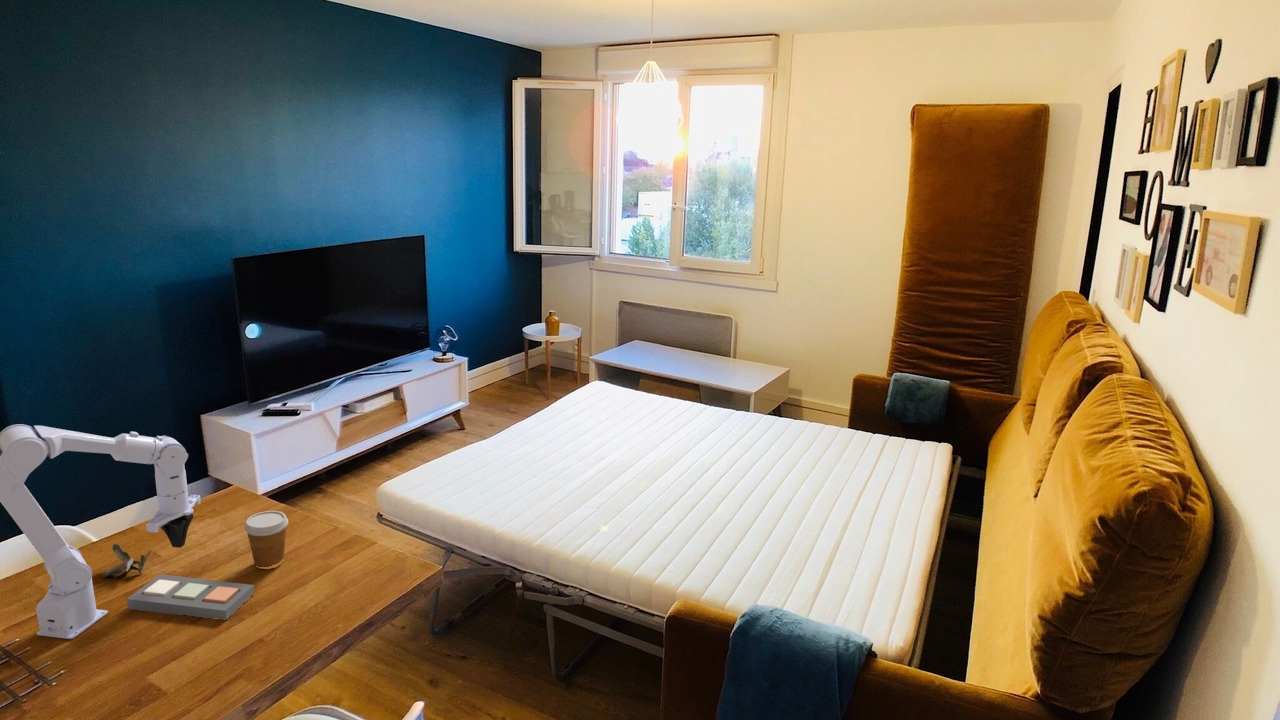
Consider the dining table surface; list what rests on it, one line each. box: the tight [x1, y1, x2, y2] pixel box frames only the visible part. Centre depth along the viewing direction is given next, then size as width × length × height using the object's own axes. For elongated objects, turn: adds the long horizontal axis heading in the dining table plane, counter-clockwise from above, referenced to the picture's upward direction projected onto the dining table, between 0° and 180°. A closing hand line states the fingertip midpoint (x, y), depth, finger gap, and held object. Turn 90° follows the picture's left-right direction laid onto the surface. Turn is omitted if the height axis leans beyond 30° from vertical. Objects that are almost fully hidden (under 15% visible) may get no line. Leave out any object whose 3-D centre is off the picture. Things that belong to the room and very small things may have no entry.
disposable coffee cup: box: [244, 510, 289, 567], centre depth 179 cm, size 10×10×12 cm
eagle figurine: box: [101, 543, 152, 578], centre depth 172 cm, size 8×7×9 cm
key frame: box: [126, 574, 255, 620], centre depth 164 cm, size 10×23×2 cm, turn 85°
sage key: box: [174, 583, 209, 600], centre depth 163 cm, size 5×5×3 cm
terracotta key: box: [204, 586, 239, 604], centre depth 163 cm, size 5×5×3 cm
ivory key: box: [144, 579, 180, 597], centre depth 164 cm, size 5×5×3 cm
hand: (178, 545), depth 166 cm, fingers closed
